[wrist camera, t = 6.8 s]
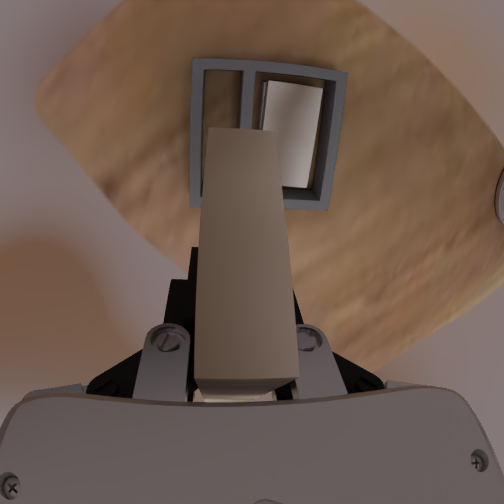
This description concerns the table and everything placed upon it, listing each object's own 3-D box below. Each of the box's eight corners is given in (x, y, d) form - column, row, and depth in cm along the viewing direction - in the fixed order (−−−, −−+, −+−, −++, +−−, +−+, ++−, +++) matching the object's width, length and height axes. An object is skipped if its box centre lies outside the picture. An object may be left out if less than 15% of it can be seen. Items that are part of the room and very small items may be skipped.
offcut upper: (318, 87, 27) (322, 88, 26) (302, 183, 32) (306, 188, 31) (266, 80, 26) (268, 80, 25) (254, 178, 31) (256, 183, 30)
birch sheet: (239, 289, 20) (274, 131, 9) (242, 404, 16) (299, 377, 6) (207, 288, 19) (208, 127, 9) (206, 404, 16) (194, 378, 6)
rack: (336, 72, 27) (347, 72, 24) (319, 199, 34) (327, 210, 32) (195, 60, 25) (192, 58, 23) (192, 195, 33) (189, 206, 30)
